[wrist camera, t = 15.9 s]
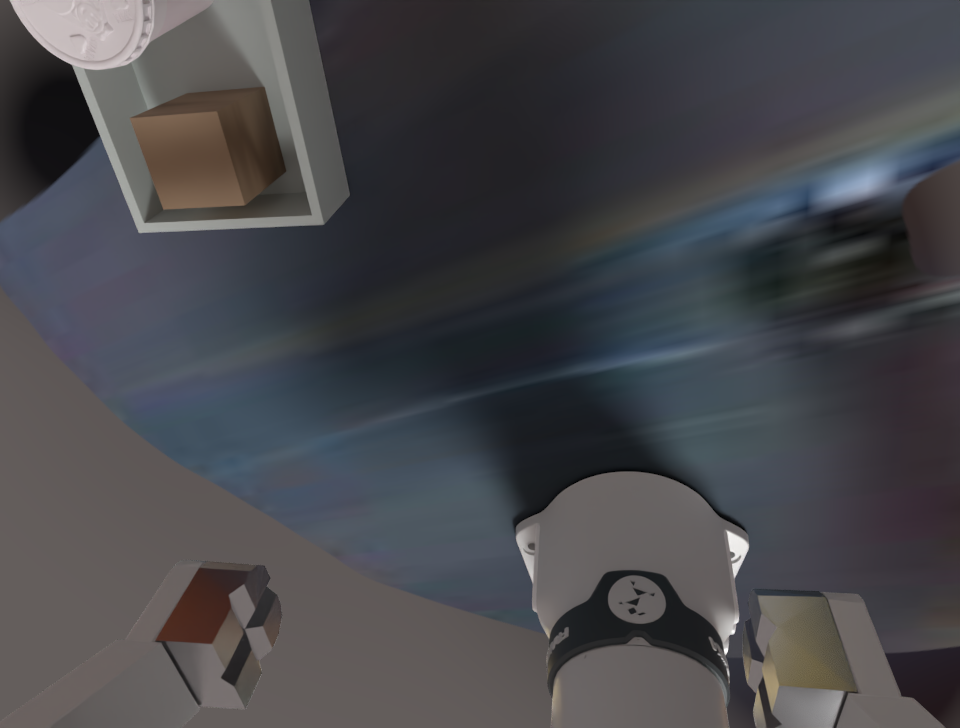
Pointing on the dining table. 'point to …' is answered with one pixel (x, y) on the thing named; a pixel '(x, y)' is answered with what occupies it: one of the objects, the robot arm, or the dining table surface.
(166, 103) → the walnut block
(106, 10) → the smoothie
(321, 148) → the crate
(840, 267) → the dining table surface
